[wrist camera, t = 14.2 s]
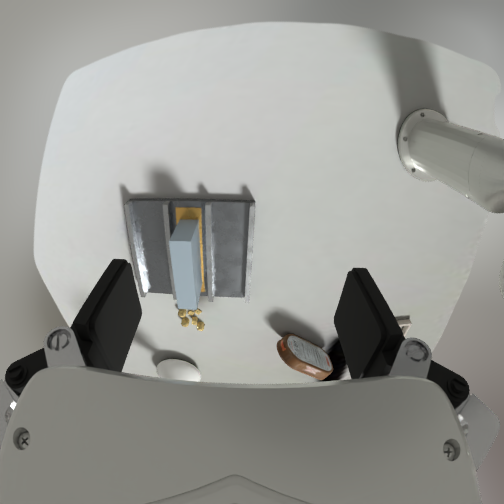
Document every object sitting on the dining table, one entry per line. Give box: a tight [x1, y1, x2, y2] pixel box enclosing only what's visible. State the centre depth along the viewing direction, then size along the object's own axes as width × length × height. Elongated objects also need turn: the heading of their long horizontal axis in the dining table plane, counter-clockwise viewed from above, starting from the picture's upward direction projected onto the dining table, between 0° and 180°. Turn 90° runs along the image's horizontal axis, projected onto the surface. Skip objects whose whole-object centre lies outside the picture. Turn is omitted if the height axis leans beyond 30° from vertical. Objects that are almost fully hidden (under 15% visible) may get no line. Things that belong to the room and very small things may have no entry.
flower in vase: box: [156, 359, 201, 382], centre depth 52 cm, size 13×11×25 cm
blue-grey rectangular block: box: [169, 219, 202, 310], centre depth 41 cm, size 3×12×7 cm, turn 177°
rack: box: [124, 199, 255, 303], centre depth 44 cm, size 20×18×2 cm
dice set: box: [178, 309, 205, 331], centre depth 53 cm, size 5×5×2 cm
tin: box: [277, 334, 333, 380], centre depth 54 cm, size 15×3×8 cm, turn 52°
